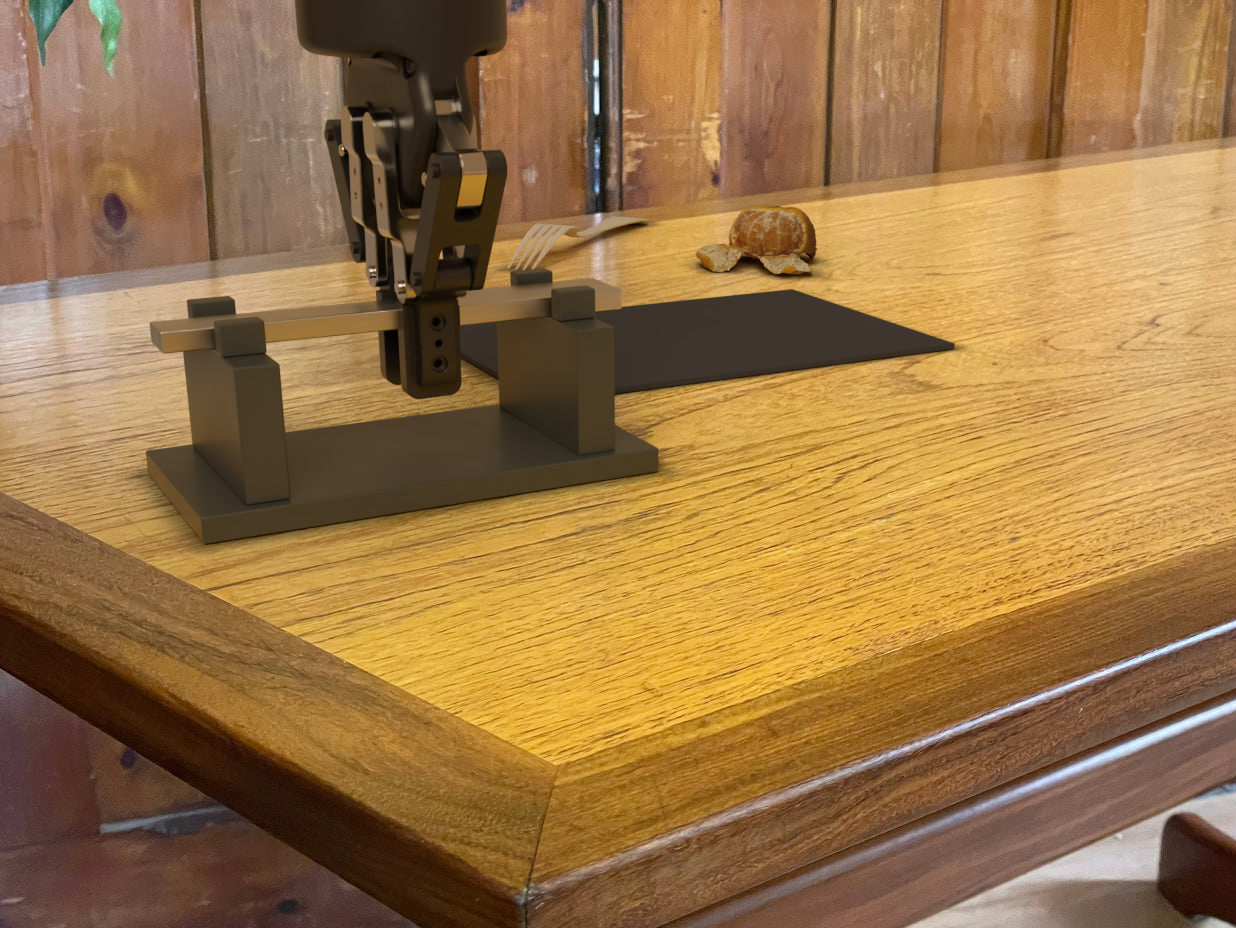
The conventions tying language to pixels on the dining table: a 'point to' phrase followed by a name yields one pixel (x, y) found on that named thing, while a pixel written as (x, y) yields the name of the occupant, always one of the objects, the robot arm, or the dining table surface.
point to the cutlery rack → (395, 431)
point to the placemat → (729, 339)
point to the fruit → (765, 240)
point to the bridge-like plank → (377, 315)
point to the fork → (565, 230)
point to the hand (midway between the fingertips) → (421, 386)
